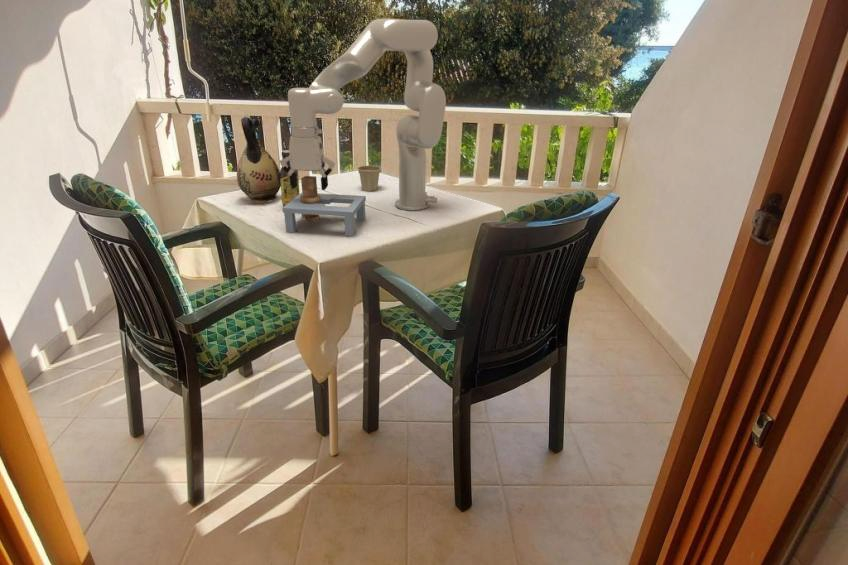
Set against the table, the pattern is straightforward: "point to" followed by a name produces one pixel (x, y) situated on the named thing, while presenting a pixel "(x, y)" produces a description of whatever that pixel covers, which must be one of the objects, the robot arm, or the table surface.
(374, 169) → the flower pot
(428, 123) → the robot arm
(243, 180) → the ceramic jug
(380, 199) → the table surface
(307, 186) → the walnut peg
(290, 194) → the sauce bottle
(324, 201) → the stand
